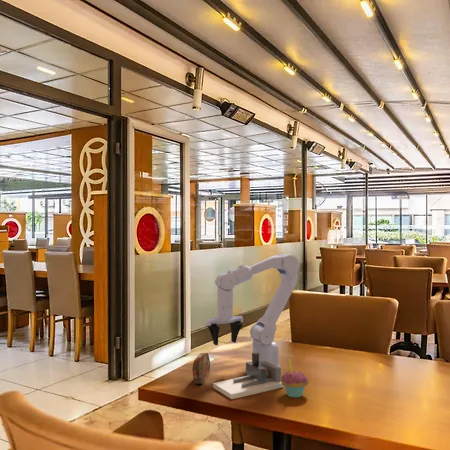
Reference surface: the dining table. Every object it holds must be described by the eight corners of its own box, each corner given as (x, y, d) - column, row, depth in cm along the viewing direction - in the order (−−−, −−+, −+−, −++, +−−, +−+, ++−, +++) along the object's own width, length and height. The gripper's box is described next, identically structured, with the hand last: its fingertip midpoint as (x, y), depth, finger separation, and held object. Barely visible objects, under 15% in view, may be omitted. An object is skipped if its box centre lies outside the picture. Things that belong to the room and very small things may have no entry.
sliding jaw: (251, 373, 158) (251, 349, 158) (266, 380, 150) (266, 356, 150) (245, 374, 157) (245, 350, 157) (260, 381, 149) (260, 357, 149)
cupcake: (291, 401, 139) (290, 362, 139) (275, 392, 147) (275, 355, 147) (313, 396, 143) (313, 358, 143) (297, 388, 151) (297, 351, 151)
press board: (262, 376, 162) (262, 359, 162) (283, 387, 152) (283, 369, 152) (213, 387, 152) (212, 369, 152) (231, 399, 142) (231, 379, 142)
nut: (260, 380, 157) (266, 370, 158) (267, 383, 153) (273, 373, 155) (252, 373, 155) (259, 363, 157) (259, 377, 152) (266, 366, 153)
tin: (200, 387, 152) (200, 362, 152) (191, 387, 153) (190, 361, 153) (210, 373, 167) (210, 350, 167) (202, 372, 168) (202, 349, 168)
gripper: (212, 309, 161) (212, 348, 161) (247, 306, 169) (247, 343, 169) (203, 306, 167) (203, 343, 167) (237, 303, 175) (237, 339, 175)
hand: (224, 343), depth 168 cm, fingers open, 7 cm apart
